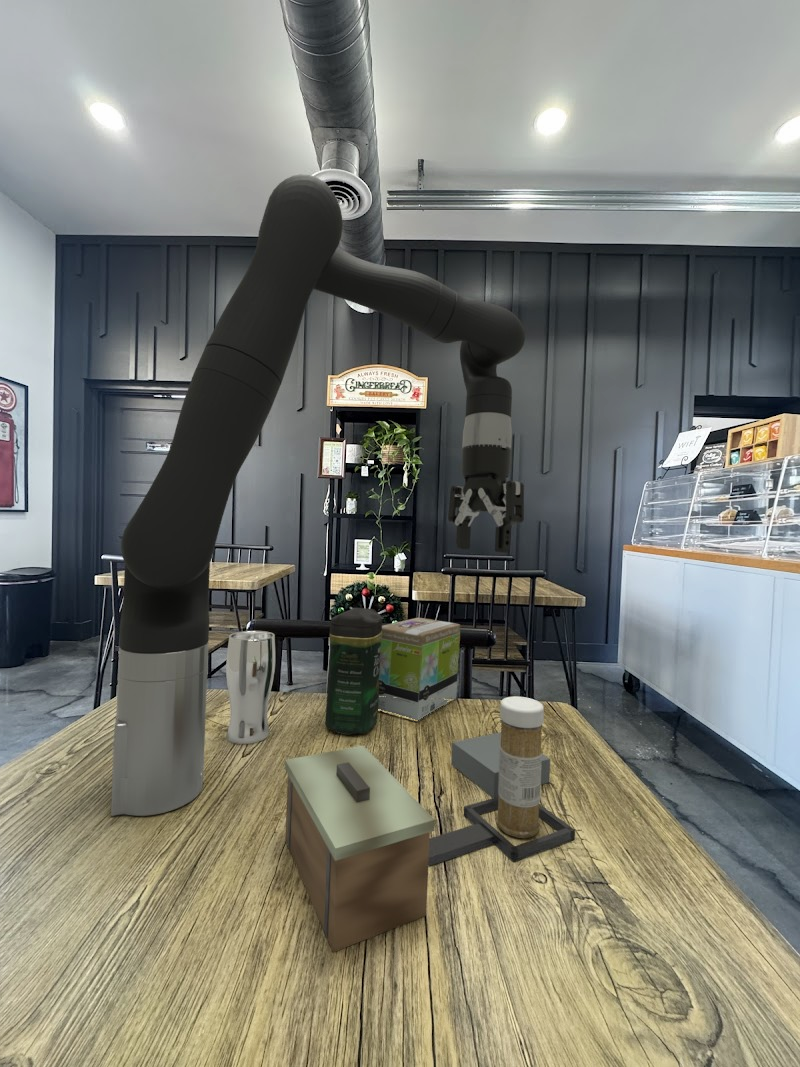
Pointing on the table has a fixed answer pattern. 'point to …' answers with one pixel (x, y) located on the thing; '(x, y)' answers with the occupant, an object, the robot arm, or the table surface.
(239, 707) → the beer glass
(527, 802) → the sprinkles bottle
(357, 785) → the toolbox
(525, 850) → the square frame with handle
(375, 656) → the coffee jar
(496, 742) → the gray rectangular block
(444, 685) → the tea box
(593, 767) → the table surface
